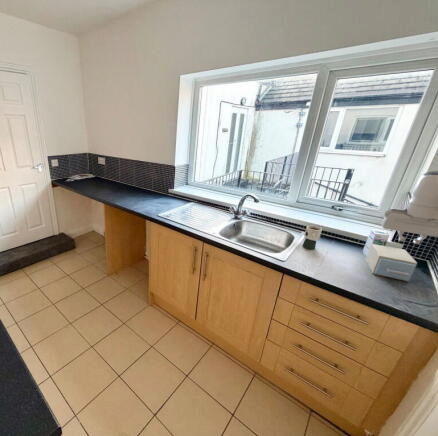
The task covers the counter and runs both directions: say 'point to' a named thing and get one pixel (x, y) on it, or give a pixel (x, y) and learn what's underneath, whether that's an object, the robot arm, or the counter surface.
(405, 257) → the compartment unit
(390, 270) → the drawer
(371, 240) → the syrup box
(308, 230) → the character mug
